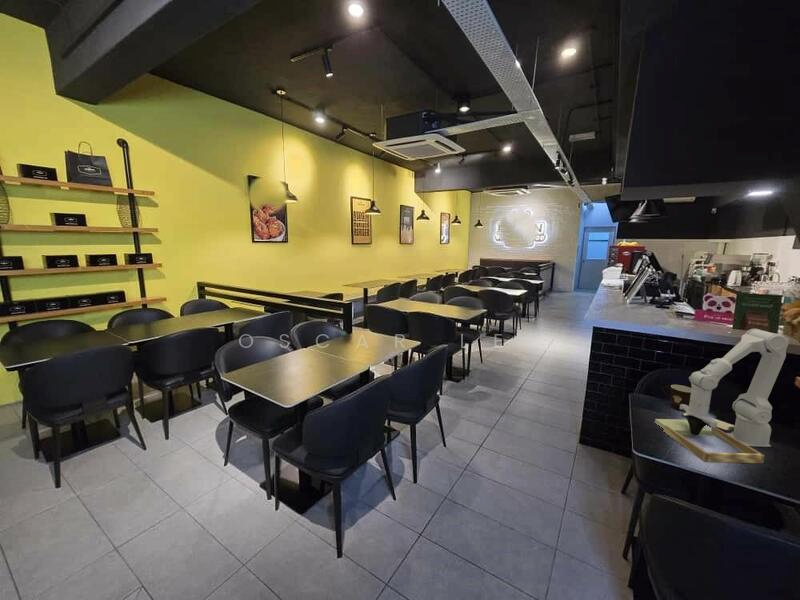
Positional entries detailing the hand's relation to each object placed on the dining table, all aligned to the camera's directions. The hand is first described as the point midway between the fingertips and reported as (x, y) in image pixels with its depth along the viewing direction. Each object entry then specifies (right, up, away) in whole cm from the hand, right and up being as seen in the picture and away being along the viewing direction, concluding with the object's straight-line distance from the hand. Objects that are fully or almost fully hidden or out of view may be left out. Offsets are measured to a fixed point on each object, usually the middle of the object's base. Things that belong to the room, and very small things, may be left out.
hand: (694, 434), depth 130 cm
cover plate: (0, -1, +6) cm, 6 cm away
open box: (0, -2, -6) cm, 7 cm away
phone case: (+16, 0, +12) cm, 20 cm away
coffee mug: (+15, +2, +25) cm, 29 cm away
